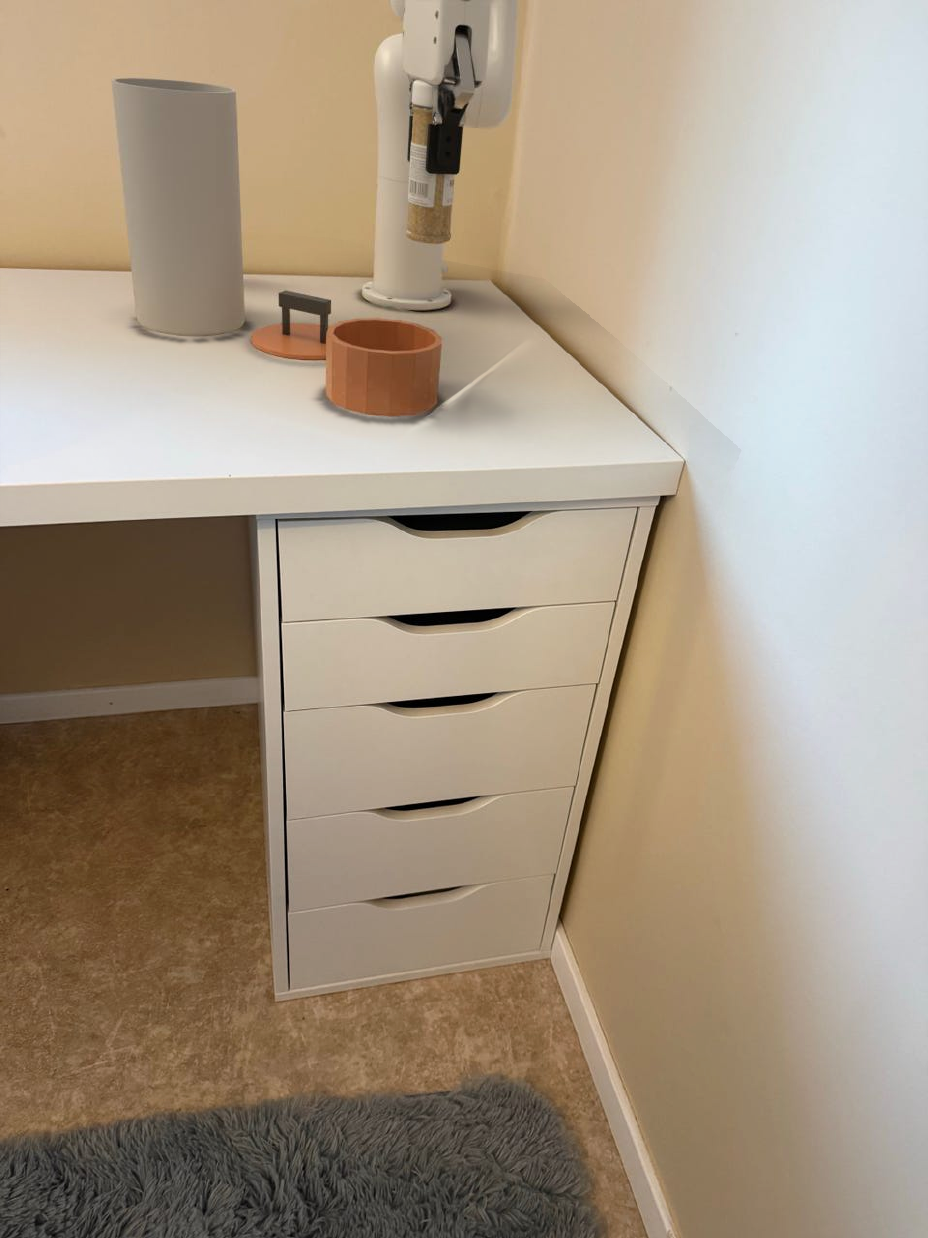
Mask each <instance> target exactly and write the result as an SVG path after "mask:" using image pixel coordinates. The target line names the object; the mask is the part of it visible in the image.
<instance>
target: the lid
mask: <svg viewBox="0 0 928 1238" xmlns="http://www.w3.org/2000/svg"><path fill="white" fill-rule="evenodd" d="M278 307H280V308H281V323H277V324H271V325H266V326H263V327H260V328H258V329H256V330H254V331H253V332H252V334H251V336H250V339H251V344H252V345H253V346H254V347H255V348H256V349H257V350H260V351H262V352H264V353H266V354H269V355H272V356H276V357H280V358H281V357H282V358H287V359H294V360H310V361H311V360H314V361H316V360H319V361H320V360H326V333H327V330H328V328H329V326H330V325H329V315H331V314H332V300H331V299H328V298H324V297H323V298H322V297H318V296H314V295H309V294H305V293H300V292H295V291H290V290H283V291H279V292H278ZM291 310H293V311H297V312H301V313H307V314H312V315H315V316H319V323H317V324H316V323H306V322H291Z"/></svg>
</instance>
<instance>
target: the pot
mask: <svg viewBox="0 0 928 1238" xmlns="http://www.w3.org/2000/svg"><path fill="white" fill-rule="evenodd" d="M328 326H329V328H328V330H327V333H326V359H325V396H326V397H327V398H328V399H329V401H330V402H331V403H332V404H334V405H337V406H338V407H340V408H342V409H345V410H347V411H352V412H355V413H359V414H362V415H368V416H378V417H379V416H380V417H402V416H414V415H418V414H420V413H421V414H422V413H425V412H428V411H429V410H431V409H432V408H434V407H435V406H436V405H437V404H438V394H439V381H440V368H441V357H442V356H441V355H442V344H443V337H442V335H440V334H439V333H438V332H437V331H436V330H434V329H432V328H430V327H427V326H424V325H422V324H419V323H415V322H411V321H404V320H401V319H399V320H398V319H390V318H379V317H370V318H369V317H368V318H367V317H365V318H363V317H362V318H352V319H347V320H340V321H338V322H336V323H333V324H331V325H328ZM434 411H435V408H434V409H433V410H431V411H430V412H429V413H428V415H430V414H432V413H433V412H434Z"/></svg>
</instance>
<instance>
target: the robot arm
mask: <svg viewBox="0 0 928 1238" xmlns="http://www.w3.org/2000/svg"><path fill="white" fill-rule="evenodd" d="M389 3H390V6H391V9H392V12H393V15H394V16H395V17H396V18H398V19H399V20H400V21H402V22H403V25H402V33H397V34H393V35H391V36H388V37H386V38H385V39H384V40H383V41H382V42H381V43H380V44H379V46H378V47H377V50H376V52H375V55H374V63H373V80H374V91H375V102H376V103H375V105H376V116H377V117H376V119H377V171H376V172H377V175H376V199H375V200H376V203H375V224H374V225H375V227H374V254H373V255H374V256H373V257H374V258H373V280H371V281H368V282H366V283H364V284H363V285H362V287H361V295H362V297H363V298H364V299H365V300H366V301H367V302H369V303H372V304H377V305H381V306H385V307H390V308H395V309H400V310H406V311H408V310H409V311H431V310H432V311H433V310H439V309H442V308H446V307H447V306H449V305H450V304H451V302H452V293H451V292H450V291H449V289H446V288H445V287H443V286H442V279H443V275H445V274H447V272H448V270H449V269H448V268H449V266H448V264H447V263H446V261H444V253H445V242H444V243H441V244H432V243H423V242H418V241H413V240H411V239H409V238H408V237H407V236H406V230H407V226H408V206H409V201H408V189H409V168H410V149H411V140H412V127H413V106H415V105H414V104H413V103H412V91H413V83H414V81H416V80H420V81H424V82H426V83H429V84H432V119H433V124H428V136H427V152H426V167H425V168H426V171H427V172H428V173H430V174H450V175H455V176H456V175H458V174H459V173H460V170H461V158H462V147H463V134H464V128H470V129H471V128H472V129H483V130H484V129H486V130H487V129H488V130H490V129H496V128H498V127H500V126H502V125H503V124H504V123H505V122H506V120H507V119H508V116H509V114H510V111H511V107H512V103H513V95H514V83H515V66H516V50H517V30H518V14H519V13H518V12H519V0H389ZM442 81H444V82H450V83H454V84H443V83H441V82H442ZM443 93H447V95H446V97H445V100H444V102H443Z"/></svg>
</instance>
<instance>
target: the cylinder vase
mask: <svg viewBox="0 0 928 1238" xmlns="http://www.w3.org/2000/svg"><path fill="white" fill-rule="evenodd" d="M111 90H112V98H113V99H112V100H113V110H114V118H115V127H116V137H117V145H118V155H119V166H120V174H121V184H122V194H123V203H124V212H125V223H126V233H127V243H128V248H129V249H128V251H129V260H130V271H131V278H132V289H133V297H134V307H135V317H136V320H137V322H138V324H139V325H140V326H142V327H143V328H146V329H148V330H150V331H153V332H157V333H162V334H165V335H173V336H182V337H183V336H185V337H186V336H187V337H188V336H189V337H204V336H205V337H206V336H214V335H215V336H216V335H223V334H227V333H228V334H229V333H231V332H234V331H237V330H240V329H241V328H242V327H243V326H244V324H245V322H246V314H245V290H244V289H245V288H244V284H245V283H244V264H243V263H244V262H243V242H242V241H243V237H242V236H243V235H242V213H241V212H242V211H241V210H242V209H241V208H242V207H241V188H240V187H241V186H240V183H241V182H240V162H239V160H240V159H239V137H238V136H239V135H238V134H239V133H238V111H237V90H236V89H234V88H231V87H227V86H222V85H217V84H210V83H202V82H194V81H185V80H174V79H161V78H143V77H118V78H112V79H111Z"/></svg>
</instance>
